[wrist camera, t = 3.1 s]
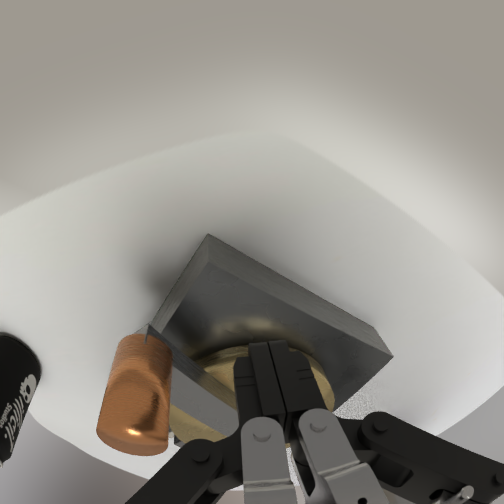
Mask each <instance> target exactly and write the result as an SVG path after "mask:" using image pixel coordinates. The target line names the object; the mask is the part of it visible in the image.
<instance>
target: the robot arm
mask: <svg viewBox="0 0 504 504" xmlns="http://www.w3.org/2000/svg"><path fill="white" fill-rule="evenodd" d="M233 376H234V391H235V399H236V406H237V414H238V421H239V426H238V428H237V430H236V431H235V432H234V433H233V434H232V435H230V436H229V437H227V438H225V439H222V440H219V441H216V442H213V441H210V440H207V439H194V440H191V441H189V442H187V443H186V444H184V445H183V446H182V447H181V448H180V449H179V451H178V452H177V453H176V454H175V455H174V456H173V457H172V458H171V459H170V460H169V461H168V462H167V463H166V464H165V465H164V466H163V467H162V468H161V469H160V470H159V471H158V472H157V473H156V474H155V475H154V476H153V477H152V478H151V479H150V480H149V481H148V482H147V483H146V484H145V485H144V486H143V487H142V488H141V489H140V490H139V491H138V492H137V493H135V494H134V495H133V496H132V497H131V498H130V499H129V500H128V501H127V502H126V503H125V504H216V503H217V502H218V500H219V499H220V498H221V497H222V496H223V494H224V493H225V492H226V491H227V490H230V489H233V488H235V487H238V486H240V485H244V503H245V504H297V498H296V492H295V487H294V484H293V482H292V481H291V478H290V473H289V466H288V460H287V453H286V447H285V444H287V443H290V447H291V450H292V453H291V461H292V464H293V467H294V470H295V473H296V475H297V478H298V481H299V484H300V486H301V489H302V492H303V494H304V497H305V504H491V503H492V501H494V500H495V499H497V498H498V497H500V496H501V495H502V494H504V464H502V463H499V462H497V461H494V460H492V459H489V458H486V457H484V456H481V455H479V454H476V453H474V452H471V451H469V450H466V449H464V448H462V447H459V446H457V445H455V444H452V443H450V442H448V441H445V440H443V439H441V438H439V437H437V436H434V435H432V434H430V433H428V432H426V431H423V430H421V429H419V428H417V427H415V426H413V425H411V424H409V423H406V422H404V421H402V420H400V419H398V418H396V417H394V416H392V415H390V414H388V413H385V412H373V413H370V414H368V415H367V416H366V417H365V418H364V419H363V420H356V419H343V418H340V417H337V416H335V415H334V414H333V413H332V412H330V411H329V410H328V409H327V407H326V405H325V402H324V399H323V397H322V394H321V392H320V389H319V386H318V384H317V381H316V379H315V377H314V374H313V371H312V370H311V366H310V363H309V361H308V358H306V357H305V356H304V355H303V354H302V353H301V352H300V351H292V352H290V350H289V347H288V344H287V342H286V340H278V341H269V342H259V343H249V344H248V356H246V357H237V359H236V361H235V363H234V366H233Z"/></svg>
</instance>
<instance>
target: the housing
mask: <svg viewBox="0 0 504 504" xmlns="http://www.w3.org/2000/svg"><path fill="white" fill-rule="evenodd" d="M151 326H152V327H153V328H154V329H156V330H157V331H158V332H159V333H160V334H161V335H162V336H164V337H165V338H166V339H167V340H168V341H169V342H171V343H172V344H173V345H174V346H175V347H177V348H178V349H179V350H180V351H181V352H183V353H184V354H185V355H186V356H188V357H189V358H190V359H191V360H192V361H194V362H195V361H196V360H198V359H200V358H202V357H204V356H206V355H209V354H212V353H214V352H217V351H220V350H224V349H228V348H232V347H238V346H245V345H248V344H249V343H259V342H269V341H278V340H286V342H287V344H288V347H289V348H292V349H296V350H299V351H301V352H303V353H306V354H307V355H309V356H311V357H312V358H314V359H315V360H316V361H317V362H318V363H319V364H320V365H321V367H322V368H323V370H324V372H325V375H326V377H327V379H328V382H329V384H330V386H331V389H332V391H333V394H334V399H335V402H334V408H333V411H332V412H334V411H335V410H336V409H337V408H338V407H340V406H341V405H342V404H343V403H344V402H346V401H347V400H348V399H349V398H350V397H351V396H353V395H354V394H355V393H356V392H357V391H358V390H359V389H360V388H362V387H363V386H364V385H365V384H366V383H367V382H368V381H369V380H370V379H371V378H372V377H373V376H375V375H376V374H377V373H378V372H379V371H380V370H381V369H382V368H383V367H384V366H385V365H386V364H387V363H388V362H389V361H390V360H391V359H392V358H393V357H394V356H393V355H392V353H391V352H390V350H389V349H388V347H387V346H386V345H385V343H384V342H383V340H382V339H381V337H380V336H379V334H378V333H377V331H376V330H375V329H374V327H372V326H370V325H368V324H366V323H365V322H363V321H361V320H359V319H358V318H356V317H354V316H352V315H350V314H349V313H347V312H345V311H343V310H342V309H340V308H338V307H336V306H334V305H333V304H331V303H329V302H327V301H326V300H324V299H322V298H320V297H319V296H317V295H315V294H313V293H311V292H310V291H308V290H306V289H304V288H303V287H301V286H299V285H297V284H296V283H294V282H292V281H290V280H289V279H287V278H285V277H283V276H282V275H280V274H278V273H276V272H274V271H273V270H271V269H269V268H267V267H266V266H264V265H262V264H260V263H259V262H257V261H255V260H253V259H252V258H250V257H248V256H246V255H245V254H243V253H241V252H239V251H238V250H236V249H234V248H232V247H231V246H229V245H227V244H225V243H224V242H222V241H220V240H218V239H217V238H215V237H213V236H211V235H210V234H207V236H206V237H205V239H204V240H203V242H202V243H201V245H200V247H199V248H198V250H197V251H196V253H195V254H194V256H193V257H192V259H191V260H190V262H189V264H188V265H187V267H186V268H185V270H184V271H183V273H182V274H181V276H180V278H179V279H178V281H177V282H176V284H175V286H174V287H173V289H172V290H171V292H170V294H169V295H168V297H167V298H166V300H165V302H164V303H163V305H162V306H161V308H160V310H159V311H158V313H157V315H156V316H155V318H154V320H153V321H152V323H151ZM168 437H169V438H173V437H174V433H173V431H172V430H171V428H170V425H169V435H168Z"/></svg>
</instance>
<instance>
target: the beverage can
mask: <svg viewBox="0 0 504 504" xmlns="http://www.w3.org/2000/svg"><path fill="white" fill-rule="evenodd" d="M40 376H41V375H40V370H39V367H38V364H37V361H36V359H35V358H34V356H33V355H32V353H31V352H30V351H29V350H28V349H27V348H26V347H25V346H24V345H23V344H21V343H20V342H18V341H17V340H15V339H13V338H10V337H7V336H0V468H2V467H3V462H4V461H6V460H8V459H9V458H10V457H11V454H12V451H13V448H14V445H15V442H16V439H17V437H18V434H19V431H20V428H21V425H22V423H23V420H24V417H25V414H26V412H27V410H28V407H29V405H30V402H31V400H32V397H33V395H34V392H35V390H36V388H37V385H38V383H39V381H40Z"/></svg>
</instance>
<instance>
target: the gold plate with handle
mask: <svg viewBox="0 0 504 504" xmlns="http://www.w3.org/2000/svg"><path fill="white" fill-rule="evenodd" d="M289 350H290V352H292V351H299V350H296V349H292V348H289ZM300 352H301V351H300ZM301 353H302V354H303V355H304V356H305V357H306V358H308V361H309V363H310V366H311V370H312V371H313V374H314V377H315V379H316V381H317V384H318V386H319V389H320V392H321V394H322V397H323V399H324V402H325V405H326V407H327V409H328V410H329V411H330V412H332V411H333V408H334V402H335V399H334V394H333V391H332V389H331V386H330V384H329V382H328V379H327V377H326V375H325V372H324V370H323V368H322V367H321V365H320V364H319V363H318V362H317V361H316V360H315V359H314V358H312V357H311V356H309V355H307V354H306V353H303V352H301ZM246 356H248V345H245V346H238V347H232V348H228V349H224V350H220V351H217V352H214V353H212V354H209V355H206V356H204V357H202V358H200V359H198V360H196V361H195V362H194V361H192V360H191V359H190V358H189V357H188V356H186V355H185V354H184V353H183V352H181V351H180V350H179V349H178V348H177V347H175V346H174V345H173V344H172V343H171V342H169V341H168V340H167V339H166V338H165V337H164V336H162V335H161V334H160V333H159V332H158V331H157V330H156V329H154V328H153V327H152V326H151V325H150V324H147V325H146V326H144V327H143V328H141V329H140V330H139V331H137V332H136V333H134V334H132V335H129V336H126V337H125V338H123V339H122V340H121V341H120V342H119V344H118V347H117V351H116V354H115V357H114V361H113V364H112V368H111V372H110V375H109V379H108V383H107V387H106V390H105V394H104V398H103V402H102V407H101V411H100V415H99V419H98V424H97V428H96V432H97V435H98V437H99V438H100V439H101V440H102V441H103V442H104V443H105V444H107V445H108V446H110V447H112V448H114V449H116V450H118V451H121V452H124V453H127V454H131V455H138V456H152V455H157V454H160V453H163V452H164V451H165V450H166V449H167V448H168V435H169V425H170V428H171V430H172V431H173V433H174V444H175V445H177V446H179V447H182V446H183V445H184V444H186V443H187V442H189V441H191V440H194V439H207V440H210V441H213V442H216V441H219V440H222V439H225V438H227V437H229V436H230V435H232V434H233V433H234V432H235V431H236V430H237V428H238V426H239V421H238V414H237V406H236V399H235V391H234V376H233V366H234V363H235V361H236V359H237V357H246ZM285 447H286V448H289V447H290V443H287V444H285Z"/></svg>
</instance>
